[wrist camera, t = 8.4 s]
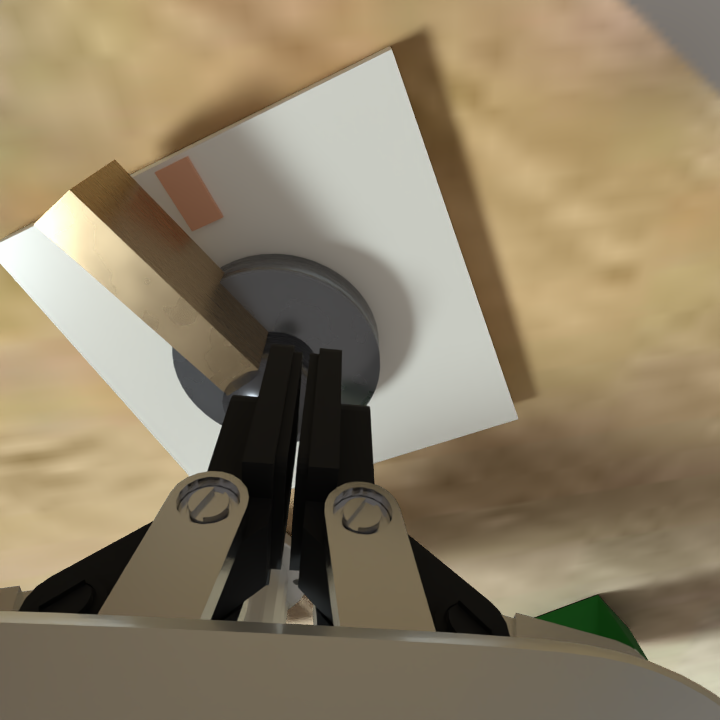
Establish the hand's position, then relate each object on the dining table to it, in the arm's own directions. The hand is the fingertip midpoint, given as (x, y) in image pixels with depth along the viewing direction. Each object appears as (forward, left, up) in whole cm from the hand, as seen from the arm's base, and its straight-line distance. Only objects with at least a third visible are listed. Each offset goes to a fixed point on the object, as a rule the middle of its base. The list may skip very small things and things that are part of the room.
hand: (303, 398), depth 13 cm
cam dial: (-2, +6, -13) cm, 14 cm away
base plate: (-5, +5, -15) cm, 16 cm away
